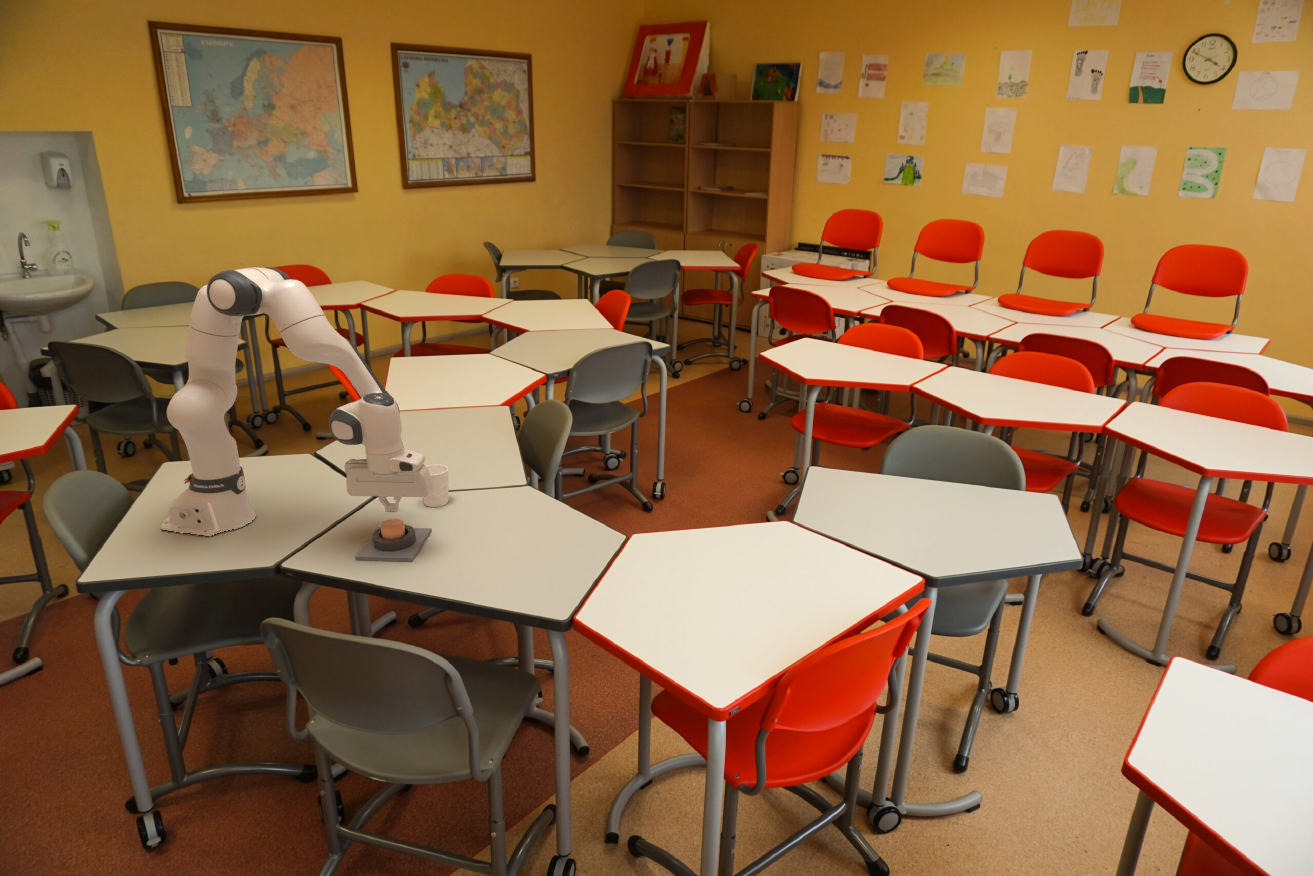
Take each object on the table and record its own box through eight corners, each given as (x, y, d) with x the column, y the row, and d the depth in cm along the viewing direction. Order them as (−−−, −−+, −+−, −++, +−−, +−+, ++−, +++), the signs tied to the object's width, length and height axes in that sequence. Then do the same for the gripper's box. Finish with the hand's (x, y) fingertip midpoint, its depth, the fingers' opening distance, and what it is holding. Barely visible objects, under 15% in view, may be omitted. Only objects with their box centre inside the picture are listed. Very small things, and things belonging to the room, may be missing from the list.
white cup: (434, 510, 224) (430, 477, 220) (416, 503, 228) (412, 470, 224) (456, 501, 229) (453, 468, 226) (438, 494, 234) (435, 462, 230)
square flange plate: (355, 560, 197) (353, 547, 196) (378, 530, 212) (377, 518, 211) (412, 561, 197) (411, 549, 196) (431, 531, 212) (430, 519, 210)
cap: (379, 546, 202) (377, 528, 200) (387, 536, 207) (385, 518, 205) (401, 547, 201) (399, 529, 200) (409, 537, 207) (407, 519, 205)
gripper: (338, 463, 194) (345, 516, 199) (423, 465, 193) (428, 517, 198) (348, 454, 200) (355, 505, 204) (430, 455, 199) (436, 506, 204)
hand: (392, 511), depth 201 cm, fingers closed
